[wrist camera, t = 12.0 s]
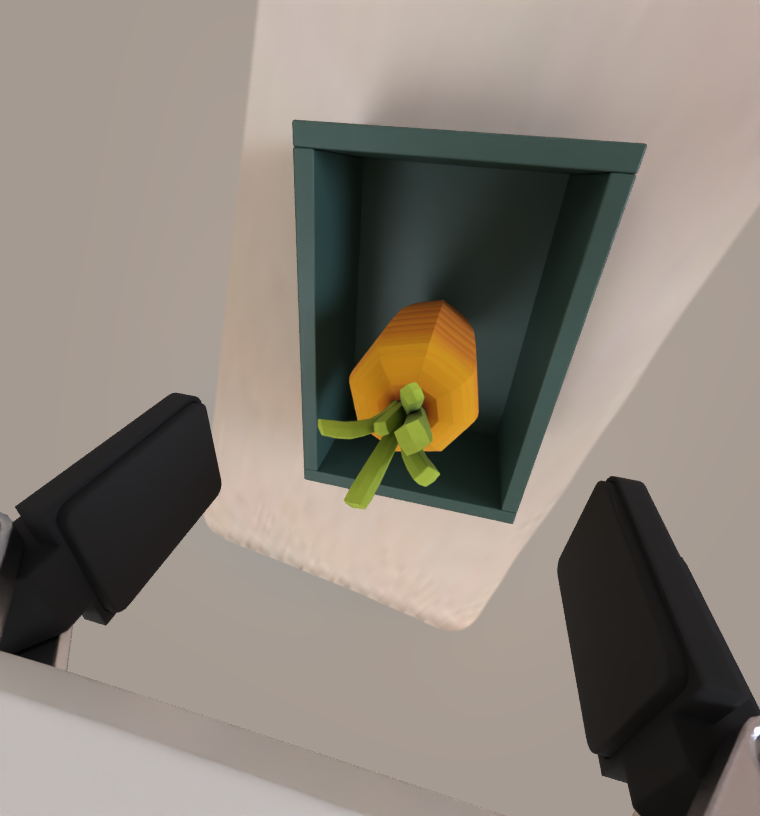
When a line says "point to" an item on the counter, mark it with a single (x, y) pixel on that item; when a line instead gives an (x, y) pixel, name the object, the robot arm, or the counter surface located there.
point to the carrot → (411, 393)
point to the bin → (450, 283)
